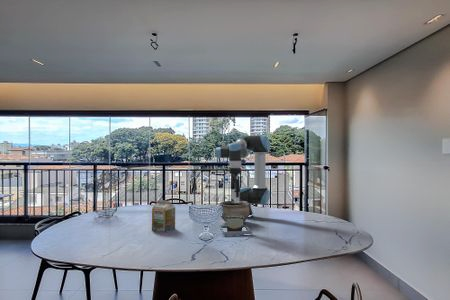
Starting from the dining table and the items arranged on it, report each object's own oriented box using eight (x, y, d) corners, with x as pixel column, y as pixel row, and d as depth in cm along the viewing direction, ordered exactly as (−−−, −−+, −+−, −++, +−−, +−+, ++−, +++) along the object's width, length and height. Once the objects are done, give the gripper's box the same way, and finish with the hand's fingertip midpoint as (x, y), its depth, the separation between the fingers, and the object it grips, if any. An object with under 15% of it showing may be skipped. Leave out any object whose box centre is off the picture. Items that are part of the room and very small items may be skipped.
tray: (219, 229, 193) (219, 225, 193) (245, 228, 195) (245, 224, 195) (223, 236, 175) (223, 232, 175) (251, 235, 178) (251, 231, 178)
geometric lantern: (90, 217, 224) (91, 172, 226) (104, 214, 239) (105, 171, 241) (107, 219, 219) (108, 172, 221) (121, 215, 234) (122, 171, 236)
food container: (244, 230, 188) (244, 214, 189) (244, 232, 182) (244, 216, 182) (225, 229, 189) (225, 214, 189) (224, 232, 183) (224, 216, 183)
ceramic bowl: (250, 227, 198) (250, 205, 199) (218, 226, 199) (218, 204, 199) (248, 220, 220) (248, 200, 221) (219, 219, 221) (219, 199, 221)
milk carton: (151, 230, 187) (152, 201, 188) (162, 227, 197) (162, 198, 197) (164, 232, 182) (165, 202, 183) (175, 229, 192) (175, 200, 192)
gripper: (226, 166, 198) (226, 198, 198) (232, 168, 173) (232, 204, 173) (237, 166, 199) (237, 197, 199) (245, 168, 174) (245, 204, 174)
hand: (235, 200), depth 186 cm, fingers open, 13 cm apart
